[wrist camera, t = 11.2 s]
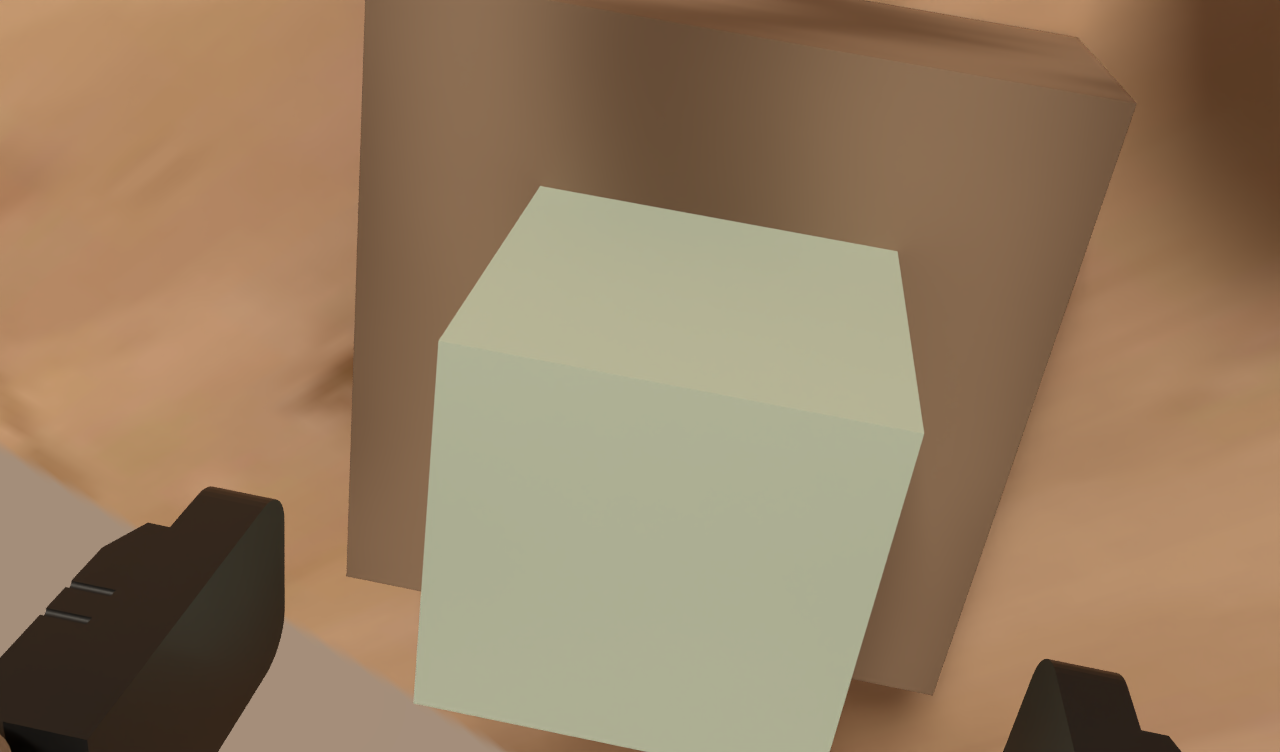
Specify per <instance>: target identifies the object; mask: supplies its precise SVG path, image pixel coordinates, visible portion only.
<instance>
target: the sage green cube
mask: <svg viewBox="0 0 1280 752" xmlns="http://www.w3.org/2000/svg"><path fill="white" fill-rule="evenodd" d="M923 436H924V428H923V421H922V415H921V408H920V401H919V394H918V387H917V381H916V374H915V367H914V360H913V353H912V346H911V340H910V333H909V326H908V319H907V312H906V306H905V299H904V292H903V285H902V278H901V271H900V265H899V258H898V251H893V250H887V249H882V248H877V247H871V246H866V245H860V244H855V243H849V242H844V241H838V240H833V239H827V238H822V237H816V236H811V235H805V234H800V233H795V232H789V231H784V230H778V229H773V228H767V227H762V226H756V225H751V224H745V223H740V222H734V221H729V220H724V219H718V218H713V217H707V216H702V215H696V214H691V213H685V212H680V211H674V210H669V209H663V208H658V207H652V206H647V205H642V204H636V203H631V202H625V201H620V200H614V199H609V198H603V197H598V196H592V195H587V194H581V193H576V192H571V191H565V190H560V189H554V188H549V187H543V186H540V187H539V189H538V190H537V192H536V193H535V195H534V196H533V198H532V199H531V201H530V202H529V204H528V205H527V207H526V208H525V210H524V211H523V213H522V215H521V216H520V218H519V219H518V221H517V222H516V224H515V225H514V227H513V228H512V230H511V231H510V233H509V234H508V236H507V237H506V239H505V240H504V242H503V243H502V245H501V246H500V248H499V250H498V251H497V253H496V254H495V256H494V257H493V259H492V260H491V262H490V263H489V265H488V266H487V268H486V269H485V271H484V272H483V274H482V275H481V277H480V278H479V280H478V281H477V283H476V284H475V286H474V288H473V289H472V291H471V292H470V294H469V295H468V297H467V298H466V300H465V301H464V303H463V304H462V306H461V307H460V309H459V310H458V312H457V313H456V315H455V316H454V318H453V319H452V321H451V323H450V324H449V326H448V327H447V329H446V330H445V332H444V333H443V335H442V336H441V338H440V339H439V341H438V355H437V369H436V384H435V398H434V413H433V427H432V442H431V456H430V471H429V485H428V500H427V514H426V529H425V544H424V558H423V573H422V587H421V602H420V616H419V631H418V645H417V660H416V674H415V689H414V704H419V705H424V706H429V707H434V708H438V709H443V710H448V711H453V712H458V713H462V714H467V715H472V716H477V717H482V718H486V719H491V720H496V721H501V722H506V723H510V724H515V725H520V726H525V727H530V728H535V729H539V730H544V731H549V732H554V733H559V734H563V735H568V736H573V737H578V738H583V739H587V740H592V741H597V742H602V743H607V744H611V745H616V746H621V747H626V748H631V749H636V750H640V751H645V752H830V749H831V746H832V742H833V739H834V736H835V732H836V729H837V725H838V722H839V719H840V715H841V712H842V709H843V705H844V702H845V699H846V695H847V692H848V688H849V685H850V682H851V678H852V675H853V672H854V668H855V665H856V662H857V658H858V655H859V651H860V648H861V645H862V641H863V638H864V635H865V631H866V628H867V625H868V621H869V618H870V614H871V611H872V608H873V604H874V601H875V598H876V594H877V591H878V588H879V584H880V581H881V578H882V574H883V571H884V567H885V564H886V561H887V557H888V554H889V551H890V547H891V544H892V541H893V537H894V534H895V530H896V527H897V524H898V520H899V517H900V514H901V510H902V507H903V504H904V500H905V497H906V493H907V490H908V487H909V483H910V480H911V477H912V473H913V470H914V467H915V463H916V460H917V456H918V453H919V450H920V446H921V443H922V440H923Z"/></svg>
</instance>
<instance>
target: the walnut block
mask: <svg viewBox="0 0 1280 752" xmlns="http://www.w3.org/2000/svg"><path fill="white" fill-rule="evenodd" d="M1136 104H1137V103H1136V102H1135V101H1134V100H1133V99H1132V98H1131V97H1130V96H1129V94H1128V93H1127V92H1126V91H1125V90H1124V89H1123V88H1122V87H1121V85H1120V84H1119V83H1118V82H1117V81H1116V80H1115V79H1114V78H1113V76H1112V75H1111V74H1110V73H1109V72H1108V71H1107V70H1106V69H1105V67H1104V66H1103V65H1102V64H1101V63H1100V62H1099V61H1098V60H1097V59H1096V57H1095V56H1094V55H1093V54H1092V53H1091V52H1090V51H1089V50H1088V48H1087V47H1086V46H1085V45H1084V44H1083V43H1082V42H1081V41H1080V39H1079V38H1078V37H1072V36H1067V35H1061V34H1055V33H1049V32H1043V31H1038V30H1032V29H1026V28H1020V27H1015V26H1009V25H1003V24H997V23H991V22H986V21H980V20H974V19H968V18H963V17H957V16H951V15H945V14H939V13H934V12H928V11H922V10H916V9H911V8H905V7H899V6H893V5H888V4H882V3H876V2H870V1H864V0H365V23H364V53H363V84H362V115H361V146H360V176H359V207H358V238H357V268H356V299H355V330H354V360H353V391H352V422H351V452H350V483H349V514H348V545H347V575H346V576H348V577H353V578H358V579H363V580H368V581H373V582H378V583H382V584H387V585H392V586H397V587H402V588H407V589H412V590H417V591H421V587H422V573H423V558H424V544H425V529H426V514H427V500H428V485H429V471H430V456H431V442H432V427H433V413H434V398H435V384H436V369H437V355H438V341H439V339H440V338H441V336H442V335H443V333H444V332H445V330H446V329H447V327H448V326H449V324H450V323H451V321H452V319H453V318H454V316H455V315H456V313H457V312H458V310H459V309H460V307H461V306H462V304H463V303H464V301H465V300H466V298H467V297H468V295H469V294H470V292H471V291H472V289H473V288H474V286H475V284H476V283H477V281H478V280H479V278H480V277H481V275H482V274H483V272H484V271H485V269H486V268H487V266H488V265H489V263H490V262H491V260H492V259H493V257H494V256H495V254H496V253H497V251H498V250H499V248H500V246H501V245H502V243H503V242H504V240H505V239H506V237H507V236H508V234H509V233H510V231H511V230H512V228H513V227H514V225H515V224H516V222H517V221H518V219H519V218H520V216H521V215H522V213H523V211H524V210H525V208H526V207H527V205H528V204H529V202H530V201H531V199H532V198H533V196H534V195H535V193H536V192H537V190H538V189H539V187H540V186H543V187H549V188H554V189H560V190H565V191H571V192H576V193H581V194H587V195H592V196H598V197H603V198H609V199H614V200H620V201H625V202H631V203H636V204H642V205H647V206H652V207H658V208H663V209H669V210H674V211H680V212H685V213H691V214H696V215H702V216H707V217H713V218H718V219H724V220H729V221H734V222H740V223H745V224H751V225H756V226H762V227H767V228H773V229H778V230H784V231H789V232H795V233H800V234H805V235H811V236H816V237H822V238H827V239H833V240H838V241H844V242H849V243H855V244H860V245H866V246H871V247H877V248H882V249H887V250H893V251H898V258H899V265H900V271H901V278H902V285H903V292H904V299H905V306H906V312H907V319H908V326H909V333H910V340H911V346H912V353H913V360H914V367H915V374H916V381H917V387H918V394H919V401H920V408H921V415H922V421H923V428H924V436H923V440H922V443H921V446H920V450H919V453H918V456H917V460H916V463H915V467H914V470H913V473H912V477H911V480H910V483H909V487H908V490H907V493H906V497H905V500H904V504H903V507H902V510H901V514H900V517H899V520H898V524H897V527H896V530H895V534H894V537H893V541H892V544H891V547H890V551H889V554H888V557H887V561H886V564H885V567H884V571H883V574H882V578H881V581H880V584H879V588H878V591H877V594H876V598H875V601H874V604H873V608H872V611H871V614H870V618H869V621H868V625H867V628H866V631H865V635H864V638H863V641H862V645H861V648H860V651H859V655H858V658H857V662H856V665H855V668H854V672H853V675H852V678H851V679H854V680H859V681H864V682H869V683H874V684H879V685H884V686H888V687H893V688H898V689H903V690H908V691H913V692H918V693H923V694H928V695H933V693H934V690H935V687H936V685H937V682H938V679H939V676H940V673H941V670H942V667H943V664H944V661H945V658H946V656H947V653H948V650H949V647H950V644H951V641H952V638H953V635H954V632H955V629H956V627H957V624H958V621H959V618H960V615H961V612H962V609H963V606H964V603H965V600H966V597H967V595H968V592H969V589H970V586H971V583H972V580H973V577H974V574H975V571H976V568H977V566H978V563H979V560H980V557H981V554H982V551H983V548H984V545H985V542H986V539H987V537H988V534H989V531H990V528H991V525H992V522H993V519H994V516H995V513H996V510H997V508H998V505H999V502H1000V499H1001V496H1002V493H1003V490H1004V487H1005V484H1006V481H1007V479H1008V476H1009V473H1010V470H1011V467H1012V464H1013V461H1014V458H1015V455H1016V452H1017V449H1018V447H1019V444H1020V441H1021V438H1022V435H1023V432H1024V429H1025V426H1026V423H1027V420H1028V418H1029V415H1030V412H1031V409H1032V406H1033V403H1034V400H1035V397H1036V394H1037V391H1038V389H1039V386H1040V383H1041V380H1042V377H1043V374H1044V371H1045V368H1046V365H1047V362H1048V360H1049V357H1050V354H1051V351H1052V348H1053V345H1054V342H1055V339H1056V336H1057V333H1058V330H1059V328H1060V325H1061V322H1062V319H1063V316H1064V313H1065V310H1066V307H1067V304H1068V301H1069V299H1070V296H1071V293H1072V290H1073V287H1074V284H1075V281H1076V278H1077V275H1078V272H1079V270H1080V267H1081V264H1082V261H1083V258H1084V255H1085V252H1086V249H1087V246H1088V243H1089V241H1090V238H1091V235H1092V232H1093V229H1094V226H1095V223H1096V220H1097V217H1098V214H1099V212H1100V209H1101V206H1102V203H1103V200H1104V197H1105V194H1106V191H1107V188H1108V185H1109V182H1110V180H1111V177H1112V174H1113V171H1114V168H1115V165H1116V162H1117V159H1118V156H1119V153H1120V151H1121V148H1122V145H1123V142H1124V139H1125V136H1126V133H1127V130H1128V127H1129V124H1130V122H1131V119H1132V116H1133V113H1134V110H1135V107H1136Z"/></svg>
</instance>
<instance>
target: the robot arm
mask: <svg viewBox="0 0 1280 752" xmlns="http://www.w3.org/2000/svg"><path fill="white" fill-rule="evenodd" d="M284 611H285V588H284V511H283V507H282V504H281V503H280V501H278V500H276V499H271V498H266V497H261V496H256V495H251V494H246V493H241V492H236V491H232V490H227V489H222V488H217V487H207V488H205V489H204V490H202V491H201V492H200V493H199V494H198V495H197V497H196V498H195V499H194V500H193V501H192V502H191V504H190V505H189V506H188V507H187V508H186V509H185V511H184V512H183V513H182V514H181V515H180V516H179V517H178V519H177V520H176V521H175V522H174V523H173V524H172V526H171V527H166V526H161V525H156V524H151V523H146V524H145V525H143V526H141V527H139V528H137V529H135V530H134V531H132V532H130V533H128V534H127V535H124V536H123V537H121V538H119V539H117V540H115V541H113V542H112V543H110V544H108V545H106V546H104V547H103V548H101V549H100V551H99V552H98V553H97V554H96V555H95V556H94V557H93V558H92V559H91V560H90V561H89V562H88V563H87V565H86V566H85V567H84V568H83V569H82V570H81V571H80V572H79V573H78V574H77V575H76V576H75V578H74V579H73V580H72V583H71V586H70V588H67V587H65V588H64V590H63V591H62V592H61V593H60V594H59V595H58V596H57V597H56V598H55V599H54V600H53V601H52V602H51V603H50V604H49V606H48V607H47V608H46V613H45V615H44V616H43V615H39V616H38V617H37V619H36V620H35V621H34V622H33V623H32V624H31V625H30V626H29V627H28V628H27V629H26V630H25V631H24V633H23V634H22V635H21V636H20V637H19V638H18V639H17V640H16V641H15V643H13V645H12V646H11V647H10V648H9V649H8V650H7V651H6V652H5V653H4V654H3V655H2V656H1V658H0V752H218V751H219V749H220V748H221V746H222V744H223V743H224V741H225V740H226V738H227V736H228V735H229V733H230V732H231V730H232V728H233V727H234V725H235V723H236V722H237V720H238V719H239V717H240V715H241V714H242V712H243V711H244V709H245V707H246V705H247V704H248V703H249V701H250V699H251V698H252V696H253V694H254V693H255V691H256V690H257V688H258V686H259V685H260V683H261V682H262V680H263V678H264V677H265V675H266V673H267V672H268V670H269V668H270V666H271V663H272V662H273V659H274V657H275V654H276V651H277V648H278V645H279V642H280V638H281V634H282V629H283V623H284ZM1003 752H1181V751H1180V749H1179V748H1178V747H1177V746H1176V745H1175V743H1174V742H1173V741H1172V740H1171V738H1170V737H1169V736H1166V735H1161V734H1157V733H1152V732H1147V731H1142V730H1141V728H1140V725H1139V722H1138V719H1137V716H1136V712H1135V709H1134V706H1133V703H1132V700H1131V696H1130V693H1129V690H1128V687H1127V684H1126V682H1125V680H1124V678H1123V677H1122V676H1121V675H1120V674H1118V673H1114V672H1109V671H1104V670H1099V669H1094V668H1089V667H1084V666H1079V665H1074V664H1069V663H1064V662H1060V661H1055V660H1050V659H1044V660H1042V661H1041V662H1040V663H1039V665H1038V666H1037V668H1036V670H1035V672H1034V674H1033V676H1032V679H1031V681H1030V684H1029V687H1028V689H1027V692H1026V694H1025V697H1024V699H1023V702H1022V705H1021V707H1020V710H1019V712H1018V715H1017V717H1016V720H1015V723H1014V725H1013V728H1012V730H1011V733H1010V735H1009V738H1008V741H1007V743H1006V746H1005V748H1004V751H1003Z"/></svg>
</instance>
